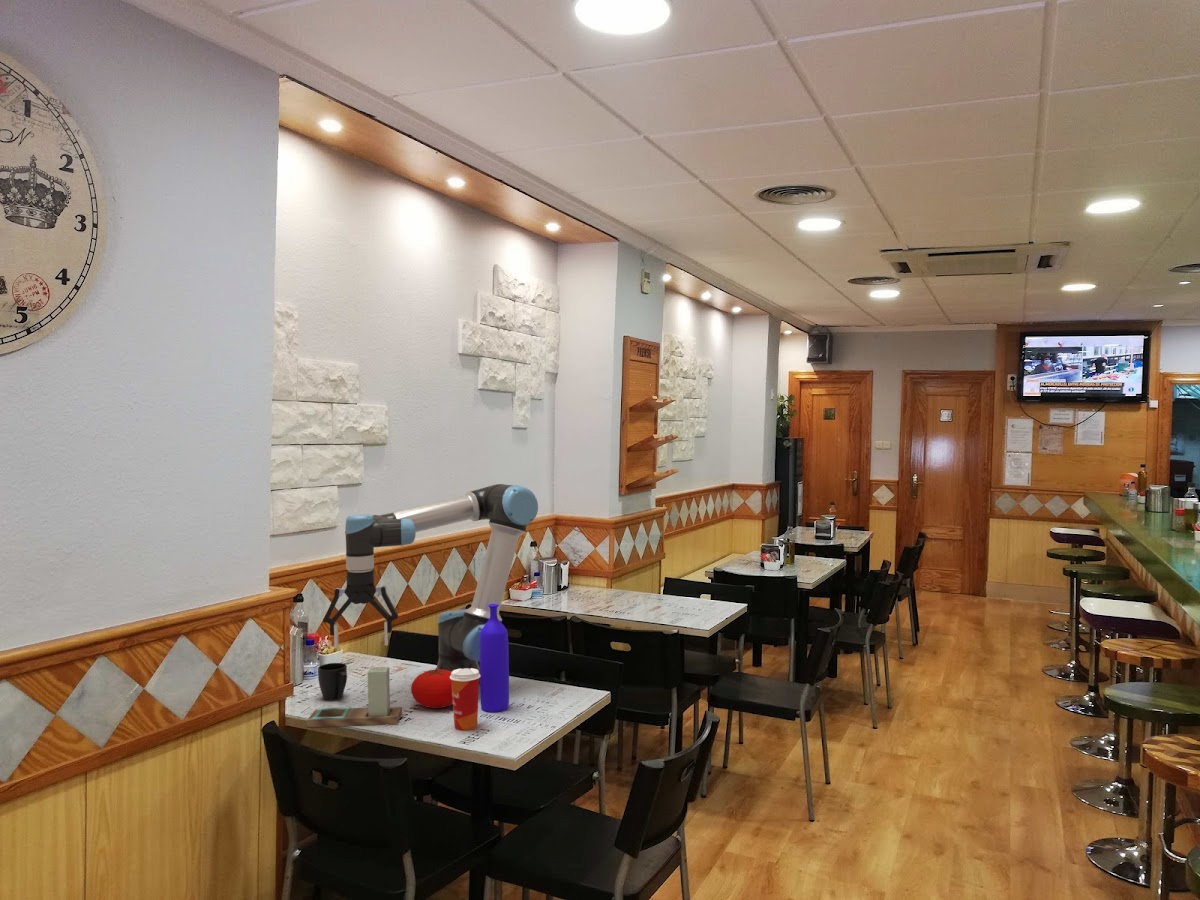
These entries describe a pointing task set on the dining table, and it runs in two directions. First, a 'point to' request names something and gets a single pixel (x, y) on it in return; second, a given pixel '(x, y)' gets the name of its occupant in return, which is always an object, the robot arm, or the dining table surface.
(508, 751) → the dining table surface
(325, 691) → the mug
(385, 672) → the block
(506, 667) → the bottle
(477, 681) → the coffee cup
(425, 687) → the tomato
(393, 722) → the wooden board
